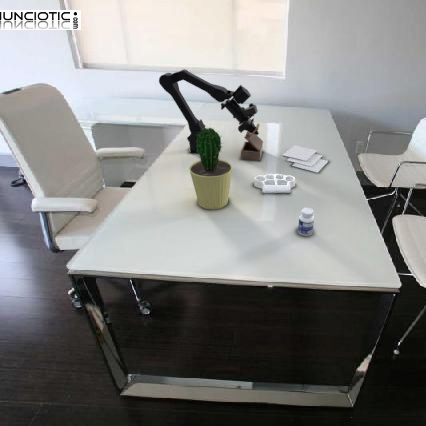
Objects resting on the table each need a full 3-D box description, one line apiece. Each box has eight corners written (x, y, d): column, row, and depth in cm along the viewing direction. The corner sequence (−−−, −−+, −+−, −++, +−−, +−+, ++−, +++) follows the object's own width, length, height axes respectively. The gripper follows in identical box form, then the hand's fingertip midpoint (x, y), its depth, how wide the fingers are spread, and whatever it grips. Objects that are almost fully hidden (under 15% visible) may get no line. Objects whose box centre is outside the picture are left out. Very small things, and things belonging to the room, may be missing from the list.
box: (241, 159, 159) (240, 150, 157) (244, 149, 170) (244, 141, 168) (259, 161, 159) (260, 152, 157) (262, 150, 171) (262, 142, 168)
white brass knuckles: (255, 195, 130) (253, 178, 142) (297, 194, 133) (292, 179, 145) (255, 187, 128) (253, 172, 140) (298, 187, 131) (293, 172, 143)
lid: (244, 137, 153) (253, 127, 150) (247, 128, 164) (257, 119, 161) (259, 152, 157) (269, 142, 154) (262, 142, 168) (271, 133, 165)
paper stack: (333, 155, 172) (333, 154, 171) (317, 172, 152) (317, 171, 152) (294, 146, 179) (294, 145, 179) (274, 161, 160) (274, 160, 159)
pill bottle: (296, 227, 113) (299, 206, 108) (311, 227, 114) (314, 206, 109) (298, 236, 109) (300, 214, 104) (313, 236, 109) (316, 215, 104)
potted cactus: (214, 217, 115) (208, 137, 98) (184, 203, 121) (174, 126, 105) (241, 200, 126) (240, 126, 109) (212, 188, 132) (207, 117, 116)
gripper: (244, 104, 142) (268, 130, 148) (250, 94, 157) (271, 118, 163) (228, 120, 146) (251, 144, 152) (235, 109, 161) (256, 132, 168)
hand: (258, 134), depth 159 cm, fingers closed
